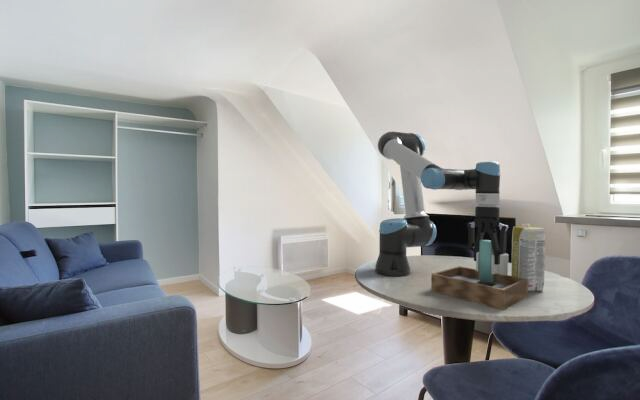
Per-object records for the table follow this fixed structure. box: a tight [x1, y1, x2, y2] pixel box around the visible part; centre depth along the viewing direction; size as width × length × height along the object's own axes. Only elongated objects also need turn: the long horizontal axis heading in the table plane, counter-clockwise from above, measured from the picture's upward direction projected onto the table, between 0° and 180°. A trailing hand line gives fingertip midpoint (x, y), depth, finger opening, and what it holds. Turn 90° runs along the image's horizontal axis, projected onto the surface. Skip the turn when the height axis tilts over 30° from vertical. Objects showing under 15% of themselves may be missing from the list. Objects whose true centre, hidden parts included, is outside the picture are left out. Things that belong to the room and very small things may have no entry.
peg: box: [479, 239, 494, 282], centre depth 111 cm, size 4×4×14 cm
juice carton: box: [510, 223, 546, 292], centre depth 116 cm, size 9×8×24 cm
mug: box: [497, 252, 509, 275], centre depth 123 cm, size 10×7×12 cm, turn 170°
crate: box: [430, 265, 529, 311], centre depth 110 cm, size 24×20×6 cm
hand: (486, 271), depth 112 cm, fingers closed on peg, 4 cm apart
